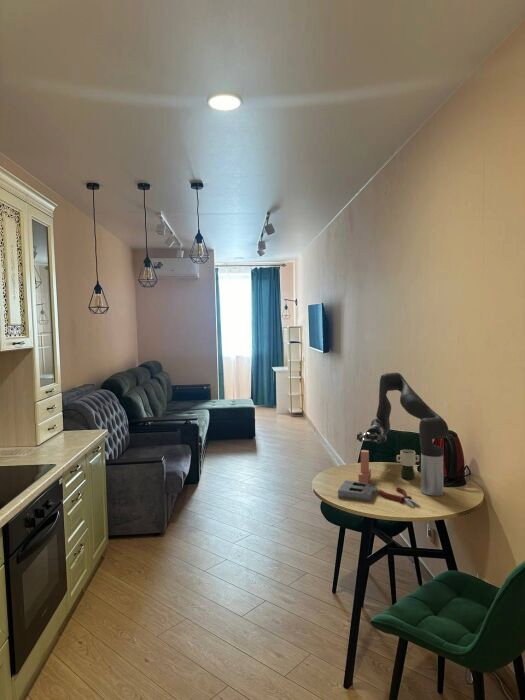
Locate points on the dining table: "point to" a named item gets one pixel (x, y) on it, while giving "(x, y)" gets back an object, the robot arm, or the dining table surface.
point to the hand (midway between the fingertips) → (369, 440)
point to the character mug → (407, 462)
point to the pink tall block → (365, 467)
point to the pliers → (399, 497)
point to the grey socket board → (357, 490)
